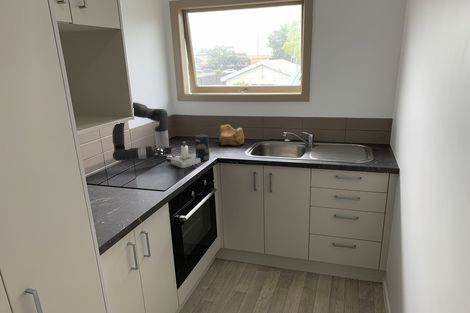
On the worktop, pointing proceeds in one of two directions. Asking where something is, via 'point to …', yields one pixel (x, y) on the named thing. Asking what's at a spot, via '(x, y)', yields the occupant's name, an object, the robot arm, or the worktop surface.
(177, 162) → the grey square socket block
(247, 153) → the worktop surface
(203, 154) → the canister
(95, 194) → the worktop surface
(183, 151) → the capped white bottle
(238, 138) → the rough brown rock
